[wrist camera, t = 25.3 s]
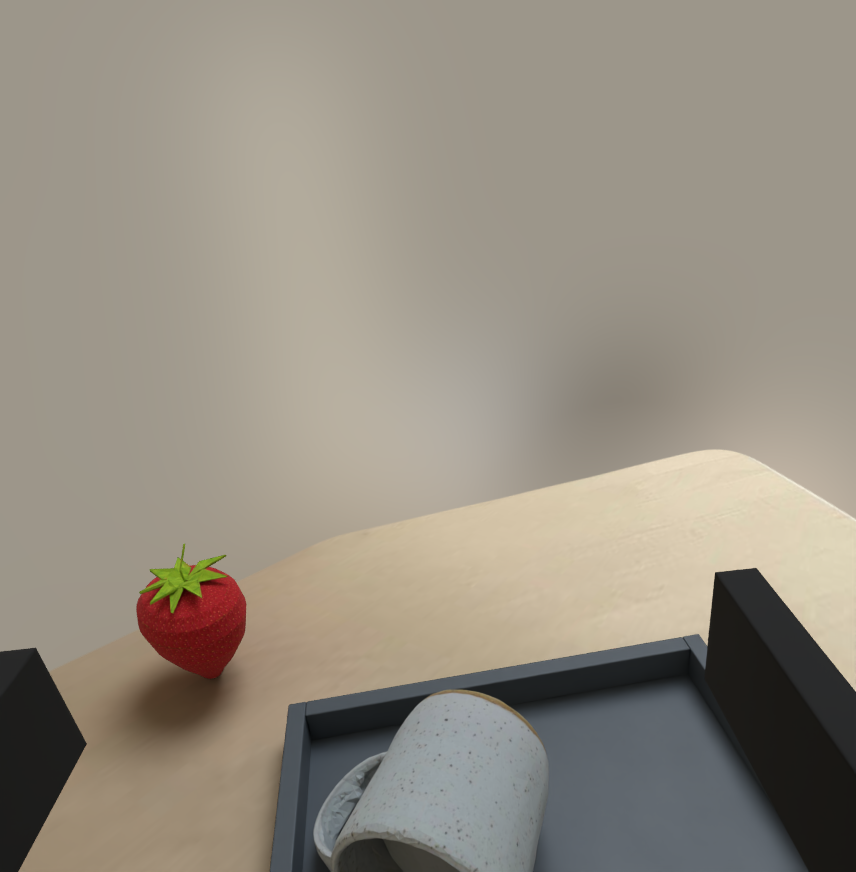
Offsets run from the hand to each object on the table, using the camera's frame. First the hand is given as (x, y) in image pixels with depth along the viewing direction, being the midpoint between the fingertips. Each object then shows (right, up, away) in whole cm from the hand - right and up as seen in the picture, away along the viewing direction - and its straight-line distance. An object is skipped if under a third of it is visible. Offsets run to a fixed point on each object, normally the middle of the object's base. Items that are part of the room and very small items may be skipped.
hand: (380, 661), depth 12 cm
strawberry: (-13, -11, +29) cm, 34 cm away
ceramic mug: (+1, -15, +16) cm, 22 cm away
